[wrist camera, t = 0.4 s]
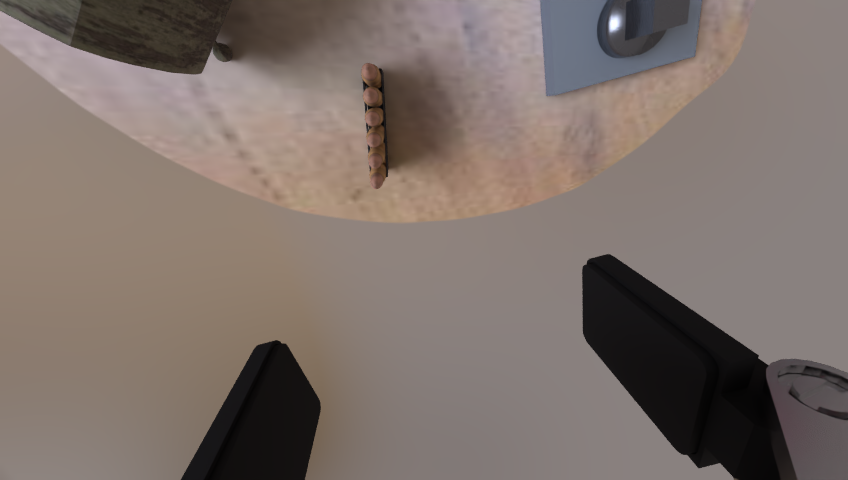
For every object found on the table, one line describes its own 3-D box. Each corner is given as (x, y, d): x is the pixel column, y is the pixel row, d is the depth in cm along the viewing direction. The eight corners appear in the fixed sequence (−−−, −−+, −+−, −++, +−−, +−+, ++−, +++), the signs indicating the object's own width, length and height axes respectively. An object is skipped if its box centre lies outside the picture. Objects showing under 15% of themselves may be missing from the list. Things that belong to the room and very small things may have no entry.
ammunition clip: (365, 70, 32) (352, 53, 21) (383, 71, 32) (378, 53, 21) (373, 170, 37) (365, 198, 26) (388, 170, 37) (387, 197, 26)
